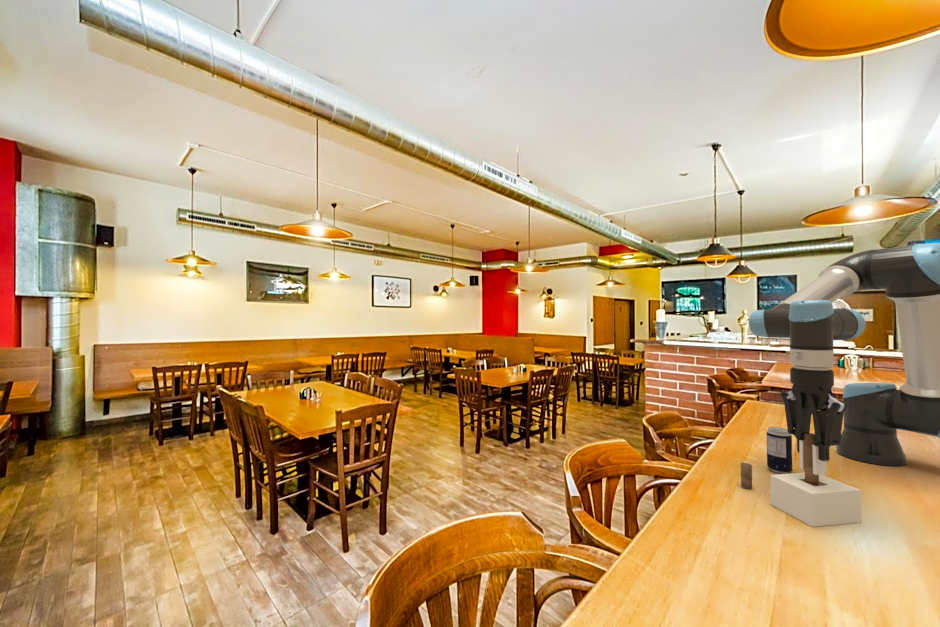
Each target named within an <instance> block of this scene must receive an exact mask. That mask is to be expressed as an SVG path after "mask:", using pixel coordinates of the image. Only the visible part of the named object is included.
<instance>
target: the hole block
mask: <svg viewBox="0 0 940 627" xmlns="http://www.w3.org/2000/svg"><path fill="white" fill-rule="evenodd" d="M769 476H770V477H769V478H770V479H769V482H770V483H769V487H770V493H769V494H770V505H771V506H773V507H774V508H777V509H779V510H781V511H782V512H784V513H786V514H787V515H790V516H791V517H793V518H795V519H797V520H799V521H800V522H803V523H805V524H807V525H808V526H810V527H812V528H815V527H827V526H837V525H848V524H858V523H859V524H860V523H862V496H861V495H862V494H861V493H862V490H861V489H859V488H856V487H854V486H851V485H849V484H846V483H844V482H841V481H839V480H836V479H834V478H831V477H828V476H826V475H825V474H823V475H819V486H813V485H811V484H808V483H806V482H805V471H804V472H793V473H791V472H790V473H788V474H780V473H777V474H770V475H769Z"/></svg>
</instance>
